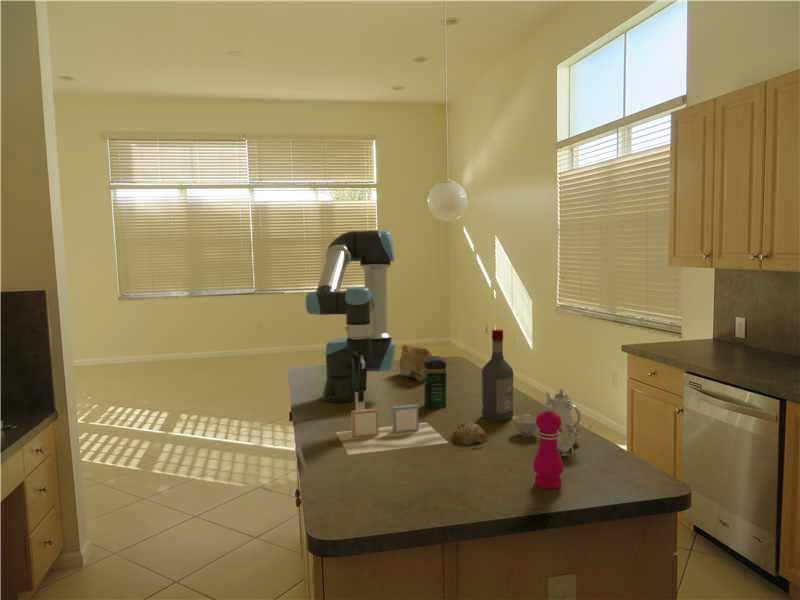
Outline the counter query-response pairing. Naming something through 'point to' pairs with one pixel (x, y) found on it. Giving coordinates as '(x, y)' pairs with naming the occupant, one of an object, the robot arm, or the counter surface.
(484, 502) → the counter surface
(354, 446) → the board
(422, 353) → the rough brown rock
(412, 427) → the tile blue
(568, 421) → the chinaware
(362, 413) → the pink square tile
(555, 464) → the pepper mill
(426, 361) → the coffee jar
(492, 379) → the liquor
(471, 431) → the bread roll
